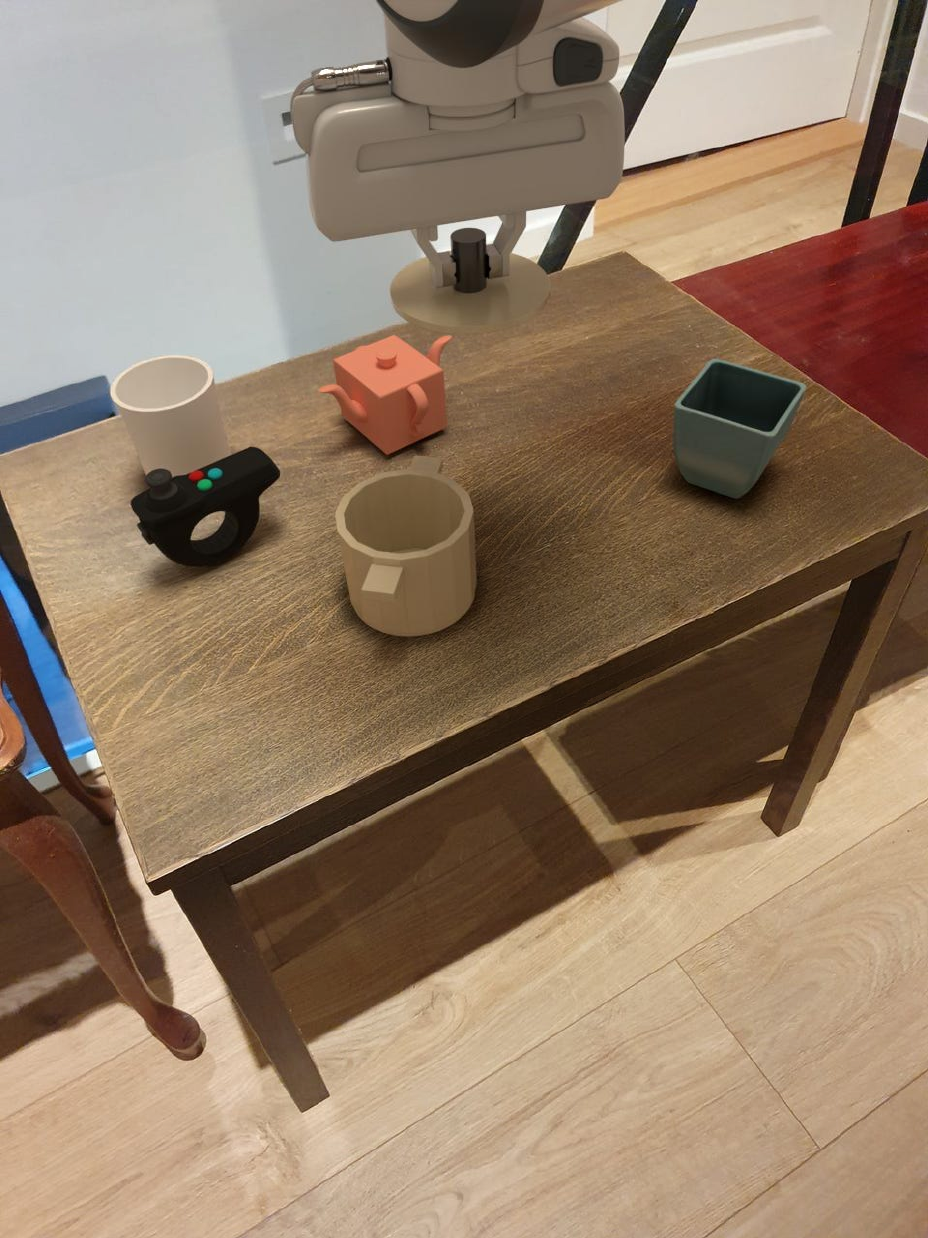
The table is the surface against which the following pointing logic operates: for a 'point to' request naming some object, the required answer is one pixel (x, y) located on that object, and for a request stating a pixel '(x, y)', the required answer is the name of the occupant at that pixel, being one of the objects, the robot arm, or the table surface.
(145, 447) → the mug
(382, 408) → the teapot
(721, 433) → the flower pot
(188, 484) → the controller
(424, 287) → the lid
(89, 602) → the table surface
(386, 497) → the pot
